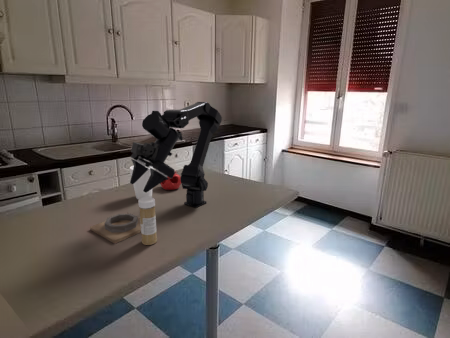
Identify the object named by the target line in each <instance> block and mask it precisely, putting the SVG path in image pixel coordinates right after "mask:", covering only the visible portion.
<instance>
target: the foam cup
mask: <svg viewBox="0 0 450 338" xmlns="http://www.w3.org/2000/svg"><path fill="white" fill-rule="evenodd" d="M145 167H146V166H145ZM133 168H134V165H131V166H130V167H129V174H130V175H131V176H132V173H133ZM146 168H148V170H147V171H146V172H145V173H144V174H143V175H142V176H141V177H140V178H139V179H138V180H137V181H136V182H135V183H134V184H132V186H133V189H134V194H135V198H136V200H139V199H140V198H143V197H153V188H152V189H151V190H149V191H148V192H144V191H143V190H144V188H145V185H146V183H147V181H148V179H149V177H150V175H151V172H150V168H152V169H154V168H153V167H151V166H149V167H146ZM154 170H155V169H154Z"/></svg>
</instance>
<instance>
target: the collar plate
mask: <svg viewBox="0 0 450 338" xmlns="http://www.w3.org/2000/svg"><path fill="white" fill-rule="evenodd" d="M89 230H90V231H91V232H93V233H95V234H97V235H98V236H100V237H101V238H104V239H106V240H107V241H109V242H110V243H113V244H117V243H120V242H123V241H124V240H127V239H128V238H131V237H133V236H136V235H138V234H141V225H140V216H138V215H135V214H133V213H131V212H127V213H117V214H114V215H111V216H109V217H107V218H106V220H105V221H103V222H100V223H97V224H95V225H91V226H90V227H89Z"/></svg>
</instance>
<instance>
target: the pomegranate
mask: <svg viewBox="0 0 450 338" xmlns="http://www.w3.org/2000/svg"><path fill="white" fill-rule="evenodd" d="M174 170H175V169H174ZM180 177H181V175H180V174H178V172H177V169H176V170H175V174H174V176H173V178H172V179H171V178H169V177H167V178H169V179H168V180H165V181H163V182H162V183H160V184H159V185H160V186H161V188H162V189H164V190H166V191H167V190H171V191H172V190H173V191H174V190H178V189H179V188H180V187H181V186H182V184H181V180H180Z"/></svg>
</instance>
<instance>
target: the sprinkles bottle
mask: <svg viewBox="0 0 450 338" xmlns="http://www.w3.org/2000/svg"><path fill="white" fill-rule="evenodd" d="M137 200H138V202H137V203H138V207H139V218H140V225H141V232H140V234H141V244H143V245H145V246H146V245H147V246H150V245H155V244H156V243H157V242H158V237H157V220H156V219H157V218H156V216H157V215H156V199H155V198H154V197H153V196H152V197H143V198H140V199H137Z"/></svg>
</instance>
